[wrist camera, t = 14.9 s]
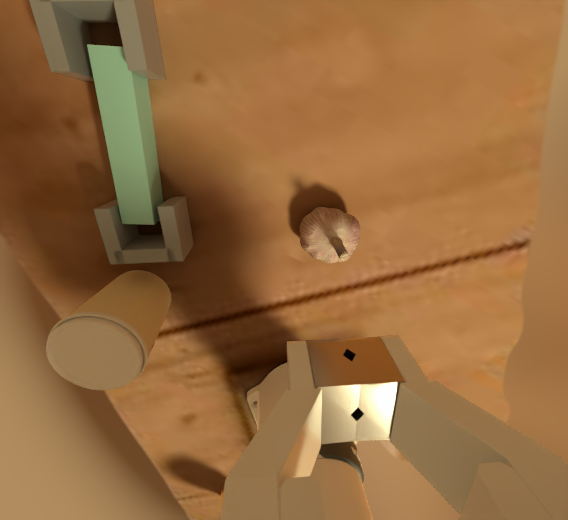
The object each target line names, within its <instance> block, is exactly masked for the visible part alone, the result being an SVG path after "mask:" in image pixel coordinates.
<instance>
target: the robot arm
mask: <svg viewBox="0 0 568 520" xmlns="http://www.w3.org/2000/svg"><path fill="white" fill-rule="evenodd" d="M247 401H248V404H249V406H250V409H251V411H252V414H253V416H254V419H255V421H256V424H257V433H256V435H255V436H254V438H253V439H252V441H251V442H250V444H249V445H248V447H247V448H246V450H245V451H244V453H243V454H242V456H241V457H240V459H239V460H238V462H237V463H236V465H235V466H234V468H233V469H232V471H231V472H230V474H229V475H228V477H227V478H226V480H225V485H224V493H223V500H222V508H221V515H220V520H373V518H372V515H371V511H370V508H369V505H368V502H367V498H366V495H365V491H364V488H363V481H364V475H363V471H362V463H361V460H360V457H359V454H358V452H357V448H356V444H357V442H358V441H365V440H389V439H390V442H391V443H392V444H393V445H394V446H395V447H396V448H397V449H398V450H399V451H400V452H401V453H402V455H403V456H404V457H405V458H406V459H407V460H408V461H409V462H410V463H411V464H412V465H413V466H414V467H415V468H416V469H417V470H418V471H419V472H420V473H421V474H422V475H423V476H424V478H426V480H427V481H428V482H429V483H430V484H431V485H432V486H433V487H434V488H435V489H436V490H437V491H438V492H439V493H440V494H441V495H442V496H443V497H444V498H445V500H446V501H447V502H448V503H449V504H450V505H451V506H452V507H453V508H454V509H455V510H456V511H457V512H458V513H459V514H460V518H459V520H568V465H567V464H566V463H565V462H564V460H563V459H562V458H561V457H560V456H558V455H557V454H555V453H554V452H552V451H550V450H549V449H547V448H545V447H544V446H542V445H540V444H539V443H537V442H536V441H534V440H532V439H531V438H529V437H527V436H526V435H524V434H522V433H521V432H519V431H517V430H516V429H514V428H513V427H511V426H509V425H508V424H506V423H504V422H503V421H501V420H499V419H498V418H496V417H494V416H493V415H491V414H490V413H488V412H486V411H485V410H483V409H481V408H480V407H478V406H476V405H475V404H473V403H471V402H470V401H468V400H466V399H465V398H463V397H462V396H460V395H458V394H457V393H455V392H453V391H452V390H450V389H448V388H447V387H445V386H443V385H442V384H440V383H439V382H437V381H429V380H428V378H427V377H426V375H425V374H424V372H423V371H422V369H421V368H420V366H419V365H418V363H417V362H416V360H415V359H414V357H413V356H412V354H411V353H410V351H409V350H408V348H407V347H406V345H405V344H404V342H403V341H402V339H401V338H400V337H399V336H398V335H387V336H378V337H366V338H351V339H328V340H306V341H287V363H284V364H282V365H280V366H278V367H277V368H275V369H274V370H272V371H271V372H270V373H269V374H268V375H267V376H266V378H265V379H264V380H263V381H262V382H261V383H260V384H259V385H257V386H255V387H254V388H252V389H250V390H249V391H248V392H247Z"/></svg>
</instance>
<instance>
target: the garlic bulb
mask: <svg viewBox="0 0 568 520" xmlns="http://www.w3.org/2000/svg"><path fill="white" fill-rule="evenodd" d="M299 231H300V235H301V238H300V243H301V246H302V248H303V249H304V250H305V251H307V252H308V253H309V254H310V255H311V256H312V257H313V258H315V259H319V260H322V261H324V262H326V263H335V262H343V261H346V260H348V259H349V258H350V257H351V255H352V253H353V251H354V250H355V248H356V247H357V244H358V242H359V239H360V237H359V231H360V226H359V222H358V221H357V219H356V218H355V217H354V216H352V215H349V214H345V213H344V212H342V211H341V210H339V209H336V208H326V207H317V208H315V209H314V210H313V211H312V212H311V213H310V214H308V215H306V216H305V217H304V218H303V220H302V222H301V224H300V227H299Z"/></svg>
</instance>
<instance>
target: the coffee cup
mask: <svg viewBox="0 0 568 520" xmlns="http://www.w3.org/2000/svg"><path fill="white" fill-rule="evenodd" d="M170 304H171V293H170V290H169V288H168V286H167V284H166V283H165V282H164V281H163V280H162V279H161V278H160V277H158V276H157V275H155V274H153V273H151V272H148V271H144V270H132V271H128V272H125V273H123V274H121V275H120V276H118V277H117V278H116V279H114V280H113V281H112V282H110V283H109V284H108V285H107V286H105V287H104V288H103V289H101V290H100V291H99V292H98V293H96V294H95V295H94V296H93V297H91V298H90V299H89V300H87V301H86V302H85V303H84V304H82V305H81V306H80V307H79V308H77V309H76V310H75V311H74V312H73V313H71V314H70V315H69V316H67V317H65V318H63V319H62V320H61V321H59V322H58V323H57V324H56V325H55V326H54V327H53V328H52V330H51V331H50V333H49V336H48V340H47V344H46V354H47V357H48V360H49V362H50V364H51V365H52V367H53V368H54V369H55V370H56V372H57V373H59V374H60V375H61V376H62V377H64V378H65V379H66V380H68V381H70V382H71V383H74V384H76V385H78V386H81V387H84V388H88V389H93V390H112V389H117V388H120V387H123V386H125V385H127V384H129V383H130V382H131V381H133V380H135V379H136V378H137V377H138V376H139V375H140V374H141V373H142V372H143V370H144V368H145V366H146V364H147V360H148V356H149V354H150V352H151V350H152V347H153V345H154V343H155V340H156V338H157V336H158V333H159V331H160V329H161V326H162V324H163V322H164V319H165V317H166V314H167V312H168V309H169V307H170Z"/></svg>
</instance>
